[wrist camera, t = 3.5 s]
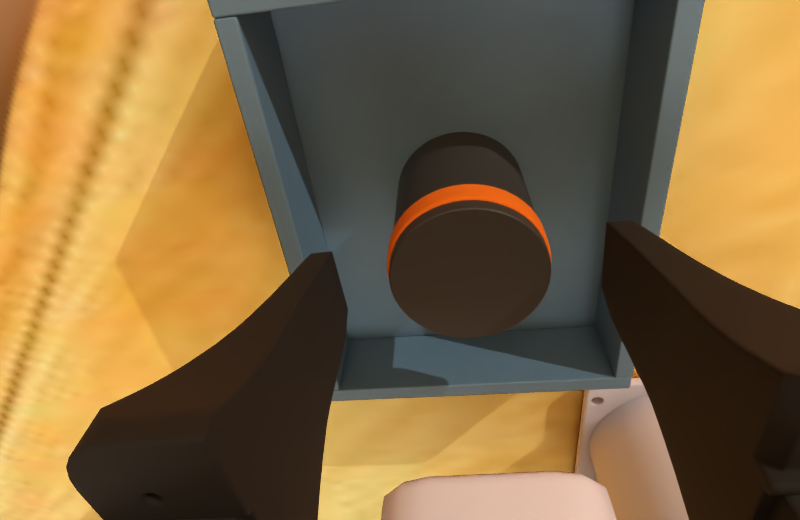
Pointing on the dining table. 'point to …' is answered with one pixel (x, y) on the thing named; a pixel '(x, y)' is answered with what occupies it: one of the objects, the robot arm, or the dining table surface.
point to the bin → (463, 112)
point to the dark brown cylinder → (466, 239)
